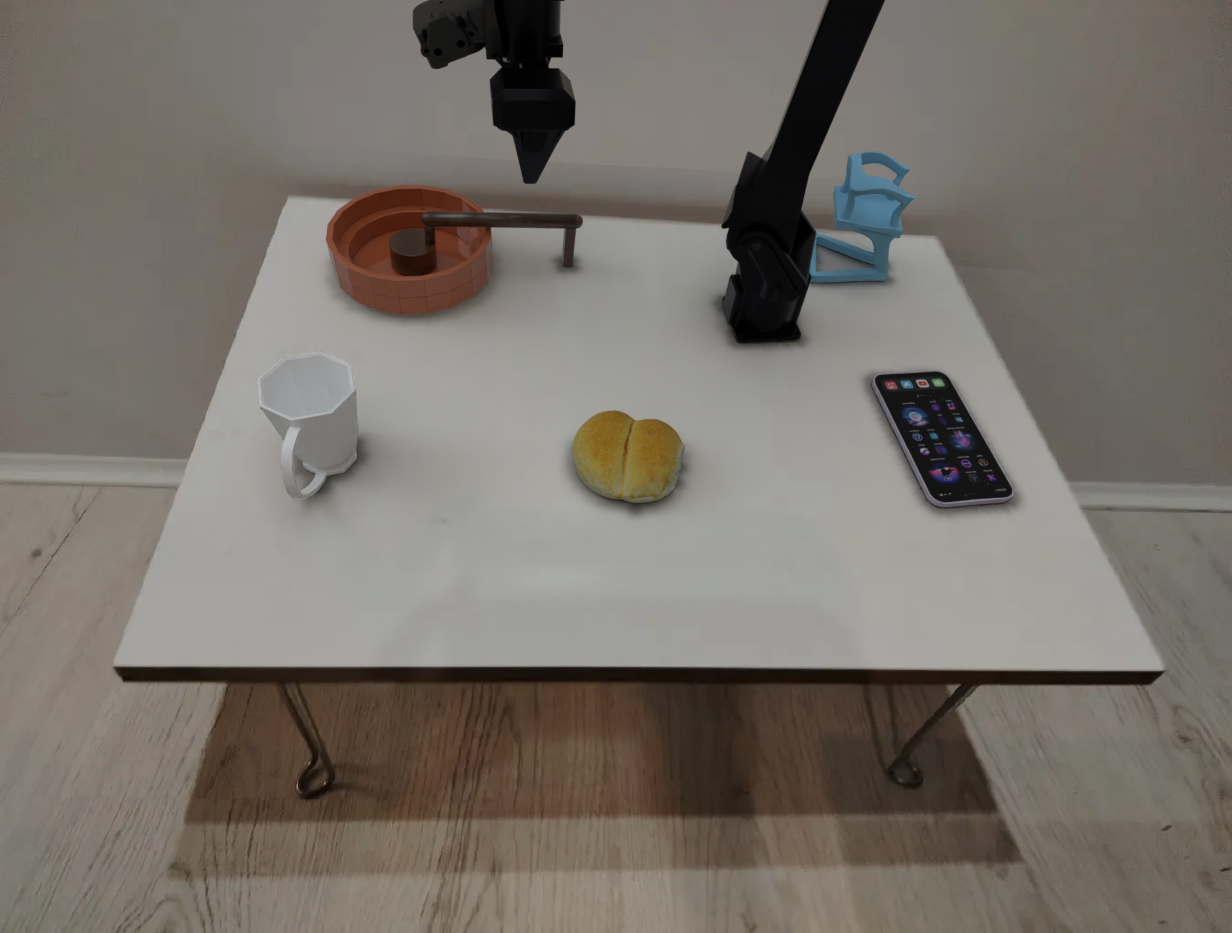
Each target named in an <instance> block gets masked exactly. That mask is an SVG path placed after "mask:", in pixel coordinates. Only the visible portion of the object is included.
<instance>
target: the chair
mask: <svg viewBox="0 0 1232 933" xmlns="http://www.w3.org/2000/svg"><path fill="white" fill-rule="evenodd" d="M870 164H879V165H882V166H884V167H886V168H888V169H889V170H891V171H892V172H893V173H894V174H896V176H895V178H894V179H893V181H891V180H889V179H887V178H885V177H880V176H875V175H869V174H867V173H865V171H864V169H863V166H865V165H870ZM845 169H846V170H845V178H844V180H843V183H842V184H841V185H837V184H836V185H835V186H834V188H833V192H832V195H833V198H832V199H833V208H834V209H833V210H834V217H833V218H834V219H833V221H834V222H833V223H834V224H833V225H834V229H839V230H844V231H853V232H854V233H857V234H860V235H862V236H864V237H866V238H868V239H869V241H871V243H872V247H873V251H870V250H867V249H864V248H861V247H858V246H856V245H853V244H851V243H848V242H845V241H842V240H839V239H837V238H834V237H831V236H827V235H824V234H822V233H818V232H816V238H815V244H814V249H813V254H812V260H811V265H810V270H809V273H810V275H811V277H812V279H811V282H810V283H823V284H825V283H843V282H844V283H845V282H865V281H867V282H868V281H869V282H870V281H874V282H877V281H878V282H881V281H882V282H884V281H886V280H887V279H888V275H889V256H890V255H889V254H890V245H891V243H892V241H893V240H894V239H901V236H902V233H903V232H904V230H903V223H902V218H901V216H902V213H903V212H904V211H905V209H906V208H907V207H908V206H909V205H910V204H911V203H912V202H913V201H914V200H915V199H916V196H915V195H914V194H910V193H908V192H907V191H904V190H903V189H902V188H900V185H901V183H902V182H903V179H904V177H906V175H907V174H908V173H909V172H910V171H911V170H912V168H911V167H910V166H908V165H904V164H902V163H900V162H899V161H898V160H896V159H895V158H893V157H892V156H890V155H889V154H887V153H885V152H882V151H877V150H875V151H864V152H863V151H862V152H858V153H853V154H852V153H851V154H848V156H847V161H846V168H845ZM817 245H820V246H822V247H824V248H827V249H830V250H832V251H835V252H838V253H840V254H843V255H846V256H848V257H850V258H854V259H856V260H857V261H858V260H859V261H861V262H864V263H867V264H870V265H873V266H874V267H868V268H867V267H866V268H852V269H851V268H850V269H838V270H826V271H825V270H823V271H818V270H817Z"/></svg>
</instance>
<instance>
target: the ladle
mask: <svg viewBox="0 0 1232 933" xmlns="http://www.w3.org/2000/svg"><path fill="white" fill-rule="evenodd" d="M421 221H422V223H423V224H424V231H423V230H418V229H405V230H401V231H398V232H396V233H395V234H393V235H392V236H391V238H390V240H389V250H390V258H391V265H392V267H393V268H394V269H395V270H396V271H397V272H399V273H401V274H403V275H407V276H421V275H425V274H428V273H430V272H431V271H433V270H434V269H435V267H436V265H437V254H436V239H435V227H489V228H491V229H492V228H496V229H497V228H498V229H551V230H552V229H553V230H554V229H555V230H557V229H558V230H560V229H561V230H563V239H562V251H561V264H562V268H573V265H574V255H575V244H576V235H577V230H578V229H581V227H582V226H583V224H584V219H583V217H582V216H581V214H578V213H558V212H557V213H554V212H553V213H549V212H546V213H545V212H505V211H504V212H502V211H501V212H497V211H495V212H494V211H484V212H455V211H426V212H424V213H423V214H422V216H421Z"/></svg>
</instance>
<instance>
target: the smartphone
mask: <svg viewBox="0 0 1232 933" xmlns="http://www.w3.org/2000/svg"><path fill="white" fill-rule="evenodd" d="M871 387H872V389H873V391H874V394H875V395H876V398H877V399H878V402H879V403H880V405H881V407H882V409H883V411H884V412H885V415H886V418H887V420H888V422H889V424H890V426H891V428H892V430H893V432H894V434H895V435H896V438H897V440H898V442H899V444H900V446H901V448H902V450H903V453H904V454H905V456H906V459H907V460H908V463H909V464H910V467H911V469H912V471H913V473H914V475H915V477H916V479H917V480H918V483H919V485H920V487H921V490H922V491H923V493H924V495H925V497H926V499H927V500H928V501H929V503H931V504H933V505H934V506H936V507H939V508H953V507H962V506H972V505H985V504H986V505H987V504H998V503H1006V502H1009V500H1011V498H1012V497H1013V496H1014V494H1015V489H1014V487H1013V485H1012V483H1011V481H1010V479H1009V478H1008V476H1007V473H1005V470H1004V469H1003V468H1002V466H1001V464H1000V462H999V461H998V459H997V457H996V455H995V453H994V452H993V451H992V448H991V447H990V445H989V443H988V441H987V440H986V438H985V436H984V435H983V432H982V431H981V429H980V428H979V426H978V424H977V423H976V421H975V419H974V417H973V415H972V414H971V412H970V410H969V408H968V406H967V405H966V404H965V402H964V400H963V398H962V397H961V395H960V392H959V391H958V390H957V388H956V386H955V384H954V383H953V381H952V379H951V378H950V376H949V375H948V374H947V373H946V372H943V371H941V370H937V369H931V370H929V369H928V370H916V371H915V370H914V371H913V370H911V371H900V372H899V371H898V372H897V371H895V372H881V373H880V372H879V373H877V374H875V375H874V376H873V378H872V380H871Z"/></svg>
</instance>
